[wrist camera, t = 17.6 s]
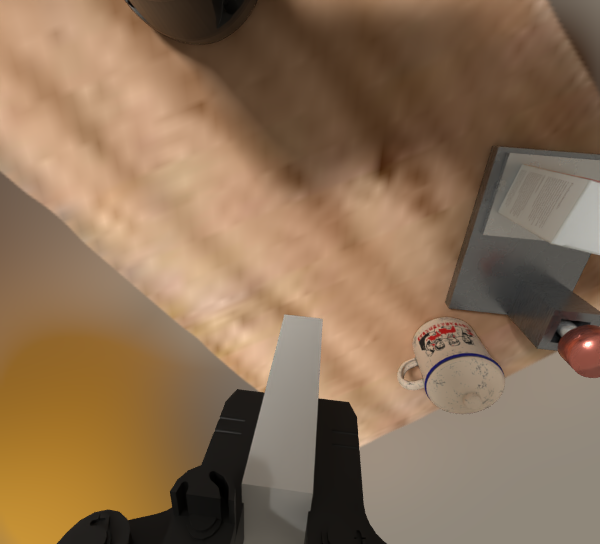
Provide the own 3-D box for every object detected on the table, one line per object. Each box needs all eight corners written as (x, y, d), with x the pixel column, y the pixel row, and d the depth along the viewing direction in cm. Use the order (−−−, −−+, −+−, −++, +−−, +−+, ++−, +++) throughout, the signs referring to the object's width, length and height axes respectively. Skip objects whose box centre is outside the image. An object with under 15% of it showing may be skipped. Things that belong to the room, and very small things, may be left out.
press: (492, 145, 36) (536, 152, 28) (626, 156, 35) (708, 166, 27) (445, 302, 44) (468, 340, 37) (551, 313, 43) (598, 355, 36)
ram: (525, 285, 40) (585, 336, 30) (565, 289, 39) (637, 342, 30) (512, 317, 42) (564, 374, 32) (549, 321, 41) (613, 380, 32)
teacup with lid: (468, 306, 44) (510, 364, 34) (482, 356, 47) (524, 423, 37) (382, 330, 47) (396, 391, 37) (400, 376, 50) (418, 444, 40)
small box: (593, 180, 34) (693, 204, 25) (563, 230, 37) (643, 268, 27) (520, 162, 34) (592, 178, 25) (495, 212, 37) (551, 245, 27)
